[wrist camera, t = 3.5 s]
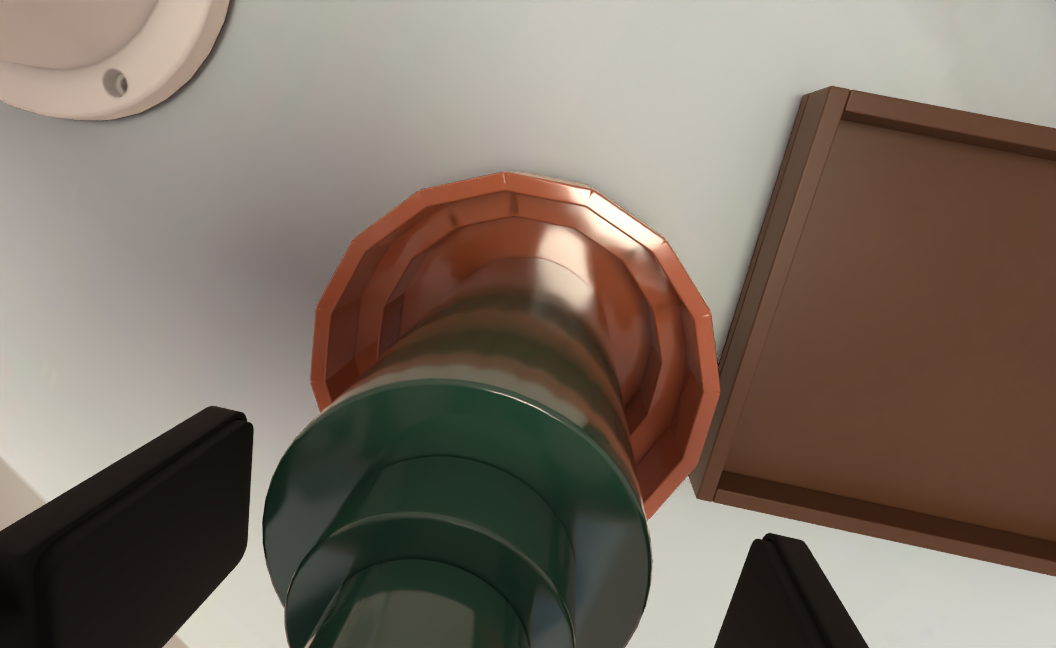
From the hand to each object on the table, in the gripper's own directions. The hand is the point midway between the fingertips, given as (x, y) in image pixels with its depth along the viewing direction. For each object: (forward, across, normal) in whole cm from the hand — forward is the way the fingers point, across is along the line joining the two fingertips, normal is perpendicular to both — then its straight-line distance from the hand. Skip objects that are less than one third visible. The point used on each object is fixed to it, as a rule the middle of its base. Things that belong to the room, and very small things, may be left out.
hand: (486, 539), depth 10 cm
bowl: (+11, +1, 0) cm, 11 cm away
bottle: (+11, +1, 0) cm, 11 cm away
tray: (+12, -15, -3) cm, 19 cm away
